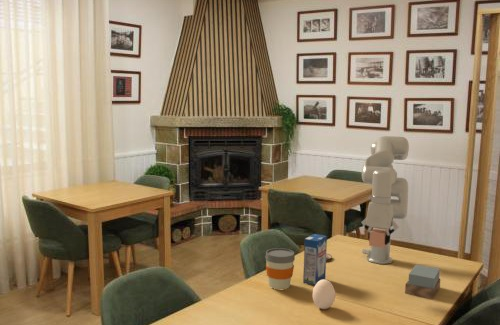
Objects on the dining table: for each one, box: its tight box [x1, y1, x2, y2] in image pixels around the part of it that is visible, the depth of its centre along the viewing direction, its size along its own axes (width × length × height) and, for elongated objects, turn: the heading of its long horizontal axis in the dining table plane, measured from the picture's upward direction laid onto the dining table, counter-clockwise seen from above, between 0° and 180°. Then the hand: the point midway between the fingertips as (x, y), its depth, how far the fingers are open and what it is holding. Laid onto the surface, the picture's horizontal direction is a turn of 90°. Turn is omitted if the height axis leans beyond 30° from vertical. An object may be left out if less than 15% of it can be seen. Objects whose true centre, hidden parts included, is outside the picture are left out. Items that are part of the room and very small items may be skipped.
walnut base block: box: [404, 277, 441, 300], centre depth 208 cm, size 11×15×4 cm
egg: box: [312, 278, 336, 310], centre depth 188 cm, size 9×9×11 cm
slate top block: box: [407, 264, 441, 289], centre depth 207 cm, size 10×14×4 cm
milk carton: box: [302, 233, 328, 286], centre depth 215 cm, size 10×6×20 cm, turn 148°
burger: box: [326, 252, 332, 263], centre depth 247 cm, size 12×12×8 cm
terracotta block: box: [368, 228, 388, 248], centre depth 202 cm, size 6×6×6 cm
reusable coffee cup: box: [265, 247, 296, 290], centre depth 209 cm, size 13×13×15 cm
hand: (378, 242), depth 202 cm, fingers closed on terracotta block, 6 cm apart
